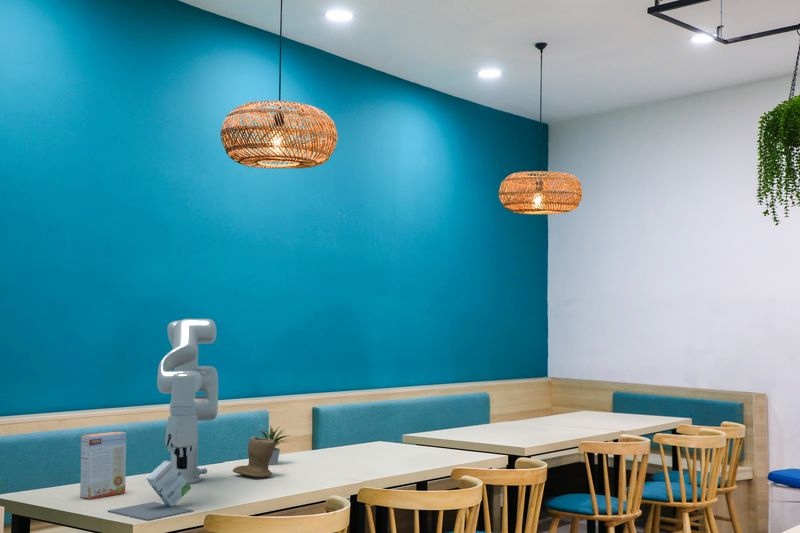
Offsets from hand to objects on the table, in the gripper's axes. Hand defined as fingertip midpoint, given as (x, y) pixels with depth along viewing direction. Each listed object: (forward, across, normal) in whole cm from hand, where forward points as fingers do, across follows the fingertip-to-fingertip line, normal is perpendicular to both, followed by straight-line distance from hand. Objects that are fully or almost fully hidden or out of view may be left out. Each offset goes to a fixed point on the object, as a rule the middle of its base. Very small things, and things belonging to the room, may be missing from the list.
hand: (181, 468), depth 277 cm
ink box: (+9, +1, 0) cm, 9 cm away
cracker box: (+12, +6, -33) cm, 36 cm away
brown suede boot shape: (+13, -52, -21) cm, 58 cm away
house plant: (+13, -76, -37) cm, 85 cm away
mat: (+11, +12, +1) cm, 17 cm away
